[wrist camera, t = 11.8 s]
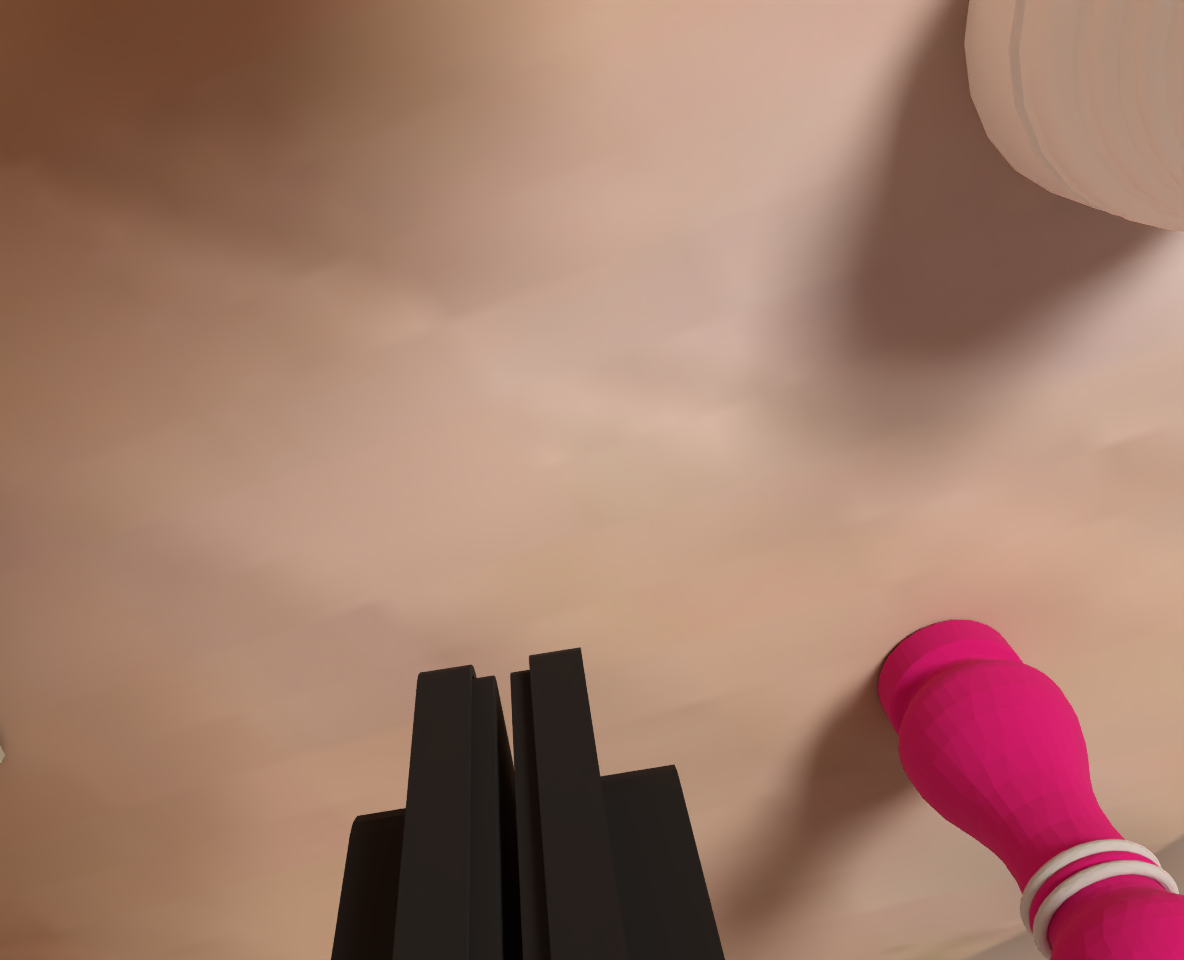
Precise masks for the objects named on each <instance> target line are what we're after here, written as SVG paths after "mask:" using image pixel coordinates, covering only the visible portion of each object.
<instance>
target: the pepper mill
mask: <svg viewBox="0 0 1184 960" xmlns="http://www.w3.org/2000/svg"><path fill="white" fill-rule="evenodd" d="M878 696H879V699H880V702H881V705H882V707H883V710H884V711H885V713H886V715H887V717H888V718H889V720H890V722H891V724H892V726H893V727H894V729H895V731H896V732H897V734H898V735H899V755H900V760H901V763H902V766H903V769H904V771H905V772H906V774H907V776H908V778H909V779H910V781H911V782H912V784H913V785H914V786H915V788H916V789H917V791H918V792H919V793H920V795H921V796H922V798H923V799H924V800H925V801H926V802H927V803H928V804H929V805H930V806H932V807H933V808H934V809H935V810H936V811H937V812H938V813H939V814H940V815H941V816H942V817H943V818H945V819H946V820H947V821H949V822H950V823H952V824H953V825H955V826H956V827H958V828H960V829H961V830H963V831H964V832H966V833H967V834H969V835H970V836H972V837H973V838H975V839H976V840H978V841H979V842H980V843H982V844H983V845H984V846H986V847H987V848H988V849H990V850H991V851H992V852H994V853H995V854H996V855H997V856H998V857H999V858H1000V859H1001V860H1002V861H1003V862H1004V864H1005V865H1006V867H1007V868H1008V870H1009V871H1010V873H1011V874H1012V875H1013V877H1014V878H1015V880H1016V881H1017V883H1018V885H1019V888H1020V890H1021V892H1022V894H1023V895H1022V898H1021V903H1020V914H1021V918H1022V921H1023V924H1024V925H1025V927H1026V929H1027V930H1028V932H1029V933H1031V934H1032V935H1033V937H1034V941H1035V944H1036V946H1037V948H1038V950H1039V951H1040V952H1041V954H1042V955H1043V956H1044V957H1045V958H1047V959H1048V960H1184V895H1180V894H1179V891H1178V888H1177V885H1176V883H1175V881H1174V880H1173V879H1172V877H1171V876H1170V875H1169V874H1168V873H1167V872H1166V871H1164V870H1163V869H1162V868H1161V865H1160V863H1159V861H1158V860H1157V858H1156V857H1155V856H1154V855H1153V853H1152V852H1150V851H1149V850H1148V849H1147V848H1145V847H1143V846H1141V845H1139V844H1137V843H1134V842H1131V841H1127V840H1125V839H1124V838H1123V837H1122V836H1121V835H1120V834H1119V833H1118V832H1117V830H1116V829H1115V828H1114V827H1113V826H1112V825H1111V823H1110V822H1109V820H1108V819H1107V817H1106V816H1105V814H1104V813H1103V811H1102V810H1101V808H1100V807H1099V805H1098V802H1097V800H1096V797H1095V795H1094V793H1093V790H1092V785H1091V780H1090V772H1089V763H1088V755H1087V749H1086V743H1085V740H1084V737H1083V734H1082V730H1081V727H1080V724H1079V721H1078V717H1077V716H1076V714H1075V712H1074V710H1073V708H1072V706H1071V705H1070V703H1069V702H1068V700H1067V699H1066V697H1065V696H1064V694H1063V692H1062V691H1061V689H1060V688H1059V687H1058V686H1057V685H1056V684H1055V683H1054V682H1053V681H1052V680H1051V679H1050V678H1049V677H1048V676H1046V675H1045V674H1044V673H1042V672H1040V671H1039V670H1037V669H1035V668H1033V667H1031V666H1028V665H1026V664H1023V663H1022V661H1021V659H1020V658H1019V657H1018V655H1017V654H1016V653H1015V652H1014V650H1013V649H1012V648H1011V647H1010V645H1009V644H1008V643H1007V642H1006V640H1005V639H1004V638H1003V637H1002V636H1001V635H1000V634H999V633H998V632H997V631H996V630H994V629H993V628H991V627H989V626H988V625H985V624H982V623H979V622H975V621H971V620H949V621H944V622H939V623H935V624H933V625H930V626H927V627H925V628H922V629H920V630H918V631H917V632H915V633H914V634H912V635H911V636H909V637H908V638H906V639H905V640H903V641H902V642H901V643H900V644H899V645H898V646H897V647H896V649H895V650H894V651H893V652H892V653H891V654H890V655H889V656H888V658H887V660H886V662H885V663H884V666H883V668H882V670H881V673H880V676H879V682H878Z"/></svg>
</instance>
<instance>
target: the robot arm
mask: <svg viewBox="0 0 1184 960" xmlns="http://www.w3.org/2000/svg"><path fill="white" fill-rule="evenodd" d="M529 666H530V670H525V671H519V672H513V673H511V674H510V680H511V702H512V725H513V747H514V766H513V761H512V756H511V751H510V746H509V741H508V736H507V731H506V726H505V721H504V716H503V711H502V706H501V701H500V696H499V691H498V686H497V682H496V678H495V676H487V677H481V678H476V673H475V670H474V667H473V666H472V665H466V666H460V667H453V668H447V669H440V670H434V671H428V672H421V673H420V674H419V675H418V680H417V689H416V701H415V712H414V723H413V734H412V745H411V757H410V768H409V779H408V790H407V801H406V808H404V809H398V810H391V811H385V812H379V813H373V814H367V815H361V816H357V817H356V819H355V820H354V822H353V825H352V829H351V833H350V838H349V845H348V851H347V858H346V864H345V871H344V878H343V884H342V891H341V897H340V904H339V910H338V917H337V924H336V930H335V937H334V943H333V950H332V957H331V960H725V958H724V954H723V950H722V946H721V942H720V938H719V934H718V930H717V926H716V923H715V919H714V915H713V911H712V907H711V903H710V899H709V895H708V891H707V887H706V883H705V879H704V875H703V871H702V867H701V863H700V859H699V855H698V851H697V847H696V843H695V839H694V835H693V831H692V827H691V823H690V819H689V815H688V811H687V807H686V803H685V800H684V796H683V792H682V788H681V784H680V780H679V776H678V773H677V770H676V767H675V765H669V766H662V767H656V768H650V769H644V770H638V771H632V772H625V773H619V774H613V775H607V776H601V777H600V772H599V765H598V758H597V752H596V745H595V739H594V732H593V726H592V719H591V713H590V706H589V700H588V693H587V687H586V680H585V673H584V667H583V660H582V654H581V647H580V648H574V649H568V650H561V651H555V652H549V653H542V654H536V655H529ZM514 769H515V771H514Z"/></svg>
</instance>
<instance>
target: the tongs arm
mask: <svg viewBox="0 0 1184 960" xmlns="http://www.w3.org/2000/svg"><path fill="white" fill-rule="evenodd" d="M4 757H5V754H4V752H3V750H2V748H1V746H0V763H1V762H2V760H3V758H4Z"/></svg>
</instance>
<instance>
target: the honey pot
mask: <svg viewBox="0 0 1184 960" xmlns="http://www.w3.org/2000/svg"><path fill="white" fill-rule="evenodd" d="M964 47H965V55H966V64H967V72H968V80H969V89H970V95H971V98H972V100H973V103H974V105H975V107H976V110H977V112H978V115H979V117H980V120H981V122H982V125H983V127H984V129H985V132H986V134H987V137H988V138H989V140H990V141H991V142H992V143H993V144H994V146H995V147H996V148H997V149H998V150H999V152H1000V153H1001V154H1002V155H1003V156H1004V158H1005V159H1006V160H1007V161H1008V162H1009V164H1010V165H1011V166H1012V167H1013V168H1014V170H1015V171H1017V172H1018V173H1020V174H1022V175H1023V176H1025V177H1026V178H1028V179H1030V180H1031V181H1033V182H1034V183H1036V184H1038V185H1039V186H1041V187H1043V188H1044V189H1046V190H1047V191H1049V192H1051V193H1054V194H1056V195H1059V196H1062V197H1065V198H1067V199H1070V200H1073V201H1076V202H1078V203H1081V204H1084V205H1087V206H1089V207H1092V208H1095V209H1098V210H1101V211H1106V212H1108V213H1109V214H1112V215H1117V216H1121V217H1123V218H1124V219H1126V220H1129V221H1133V222H1137V223H1141V224H1146V225H1150V226H1154V227H1158V228H1163V229H1167V230H1171V231H1184V0H969V7H968V15H967V24H966V32H965V40H964Z"/></svg>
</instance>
